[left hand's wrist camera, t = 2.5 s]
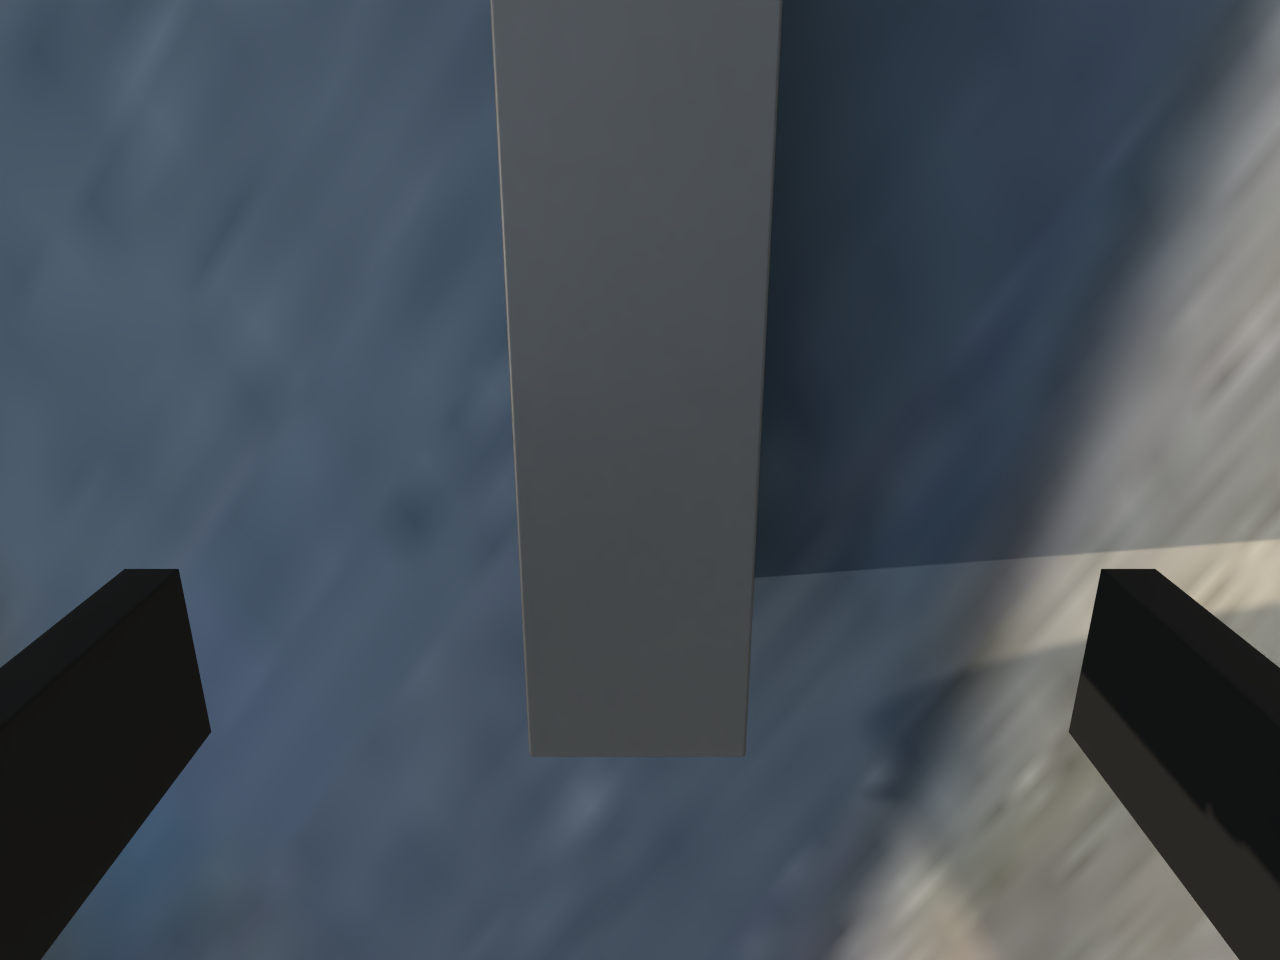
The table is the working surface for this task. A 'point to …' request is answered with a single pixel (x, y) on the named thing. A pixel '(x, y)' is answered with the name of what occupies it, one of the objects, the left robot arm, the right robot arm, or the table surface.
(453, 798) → the table surface
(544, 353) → the bar
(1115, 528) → the table surface
